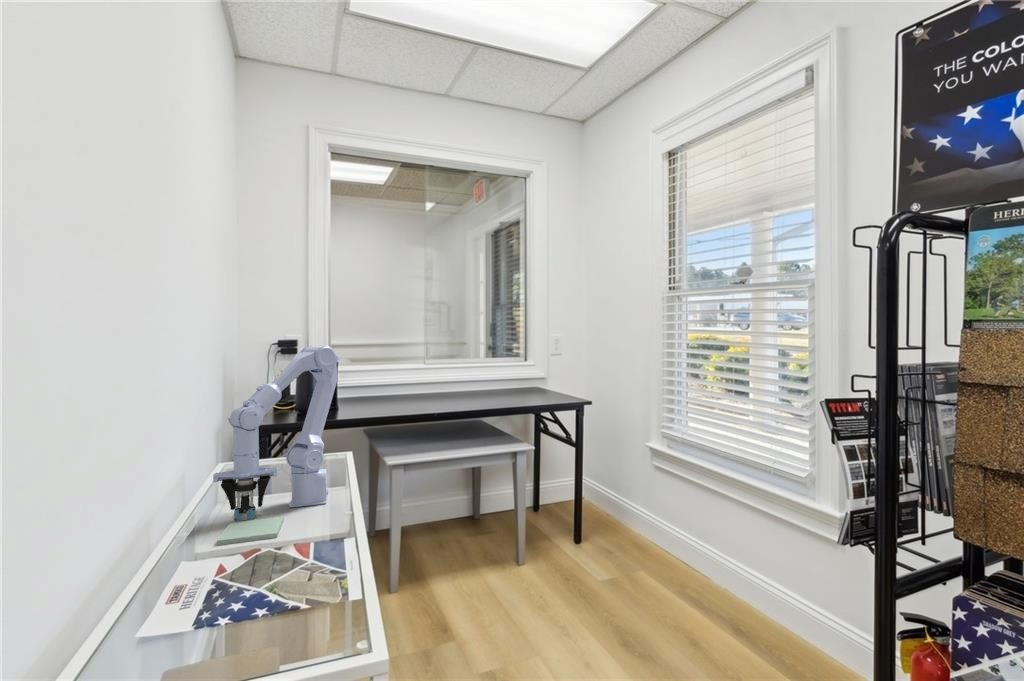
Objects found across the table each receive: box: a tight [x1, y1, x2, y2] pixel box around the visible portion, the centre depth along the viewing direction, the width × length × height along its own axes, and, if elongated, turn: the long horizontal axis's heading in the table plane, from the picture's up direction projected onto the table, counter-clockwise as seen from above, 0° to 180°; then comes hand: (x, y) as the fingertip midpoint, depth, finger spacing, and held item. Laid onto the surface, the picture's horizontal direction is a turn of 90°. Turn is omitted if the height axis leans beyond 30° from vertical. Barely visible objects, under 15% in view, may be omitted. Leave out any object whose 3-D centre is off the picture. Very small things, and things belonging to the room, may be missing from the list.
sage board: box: [216, 516, 285, 546], centre depth 116 cm, size 12×12×1 cm
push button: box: [233, 478, 263, 522], centre depth 125 cm, size 7×5×10 cm
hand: (246, 507), depth 125 cm, fingers open, 5 cm apart
